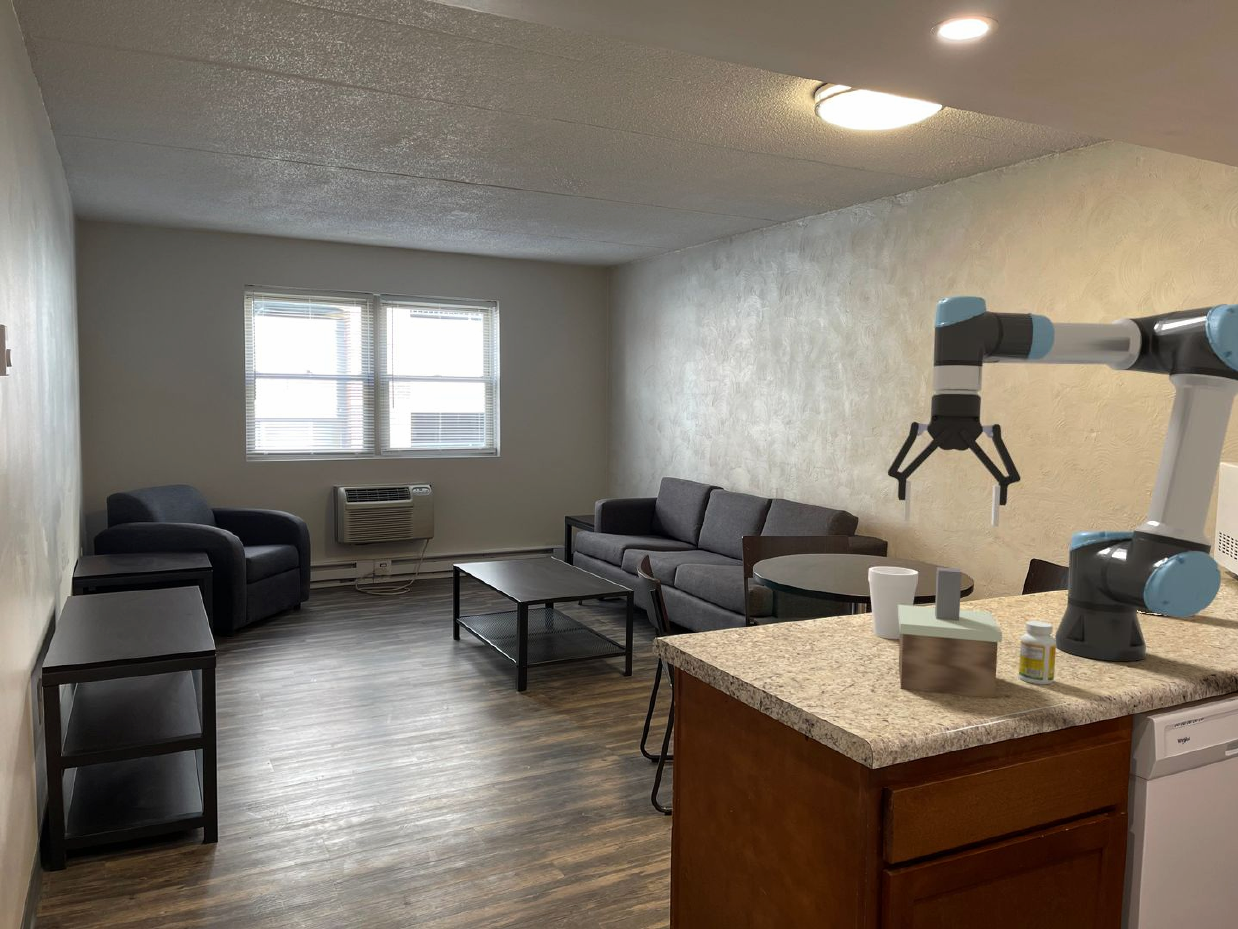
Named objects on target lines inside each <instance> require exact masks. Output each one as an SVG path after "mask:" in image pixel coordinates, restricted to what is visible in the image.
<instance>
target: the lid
mask: <svg viewBox="0 0 1238 929" xmlns="http://www.w3.org/2000/svg"><path fill="white" fill-rule="evenodd" d="M935 581H936V583H935V584H936V585H935V602H934V604H935V606H934V607H932V606H931V607H930V606H920V605H919V606H918V605H913V606H909V605H898V620H899V628H900V634H911V635H922V636H933V637H945V638H956V639H968V640H979V641H990V642H998V643H1003V642H1002V641H1003V631H1002V630H1001V628H1000V627H999V624H998V623H997V621H996V620H995V618H994V616H993V615H992V613H991V611H986V610H984V611H983V610H971V609H961V608H960V607H961V587H962V571H961V569H960V568H955V567H941V566H940V567H939V566H937V567H936V580H935Z"/></svg>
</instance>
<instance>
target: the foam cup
mask: <svg viewBox="0 0 1238 929" xmlns="http://www.w3.org/2000/svg"><path fill="white" fill-rule="evenodd" d="M867 580H868V581H867V582H869V584H868V585H869V592H870V602H871V603H870V604H871V614H872V615H871V617H872V623H873V624H872V625H873V626H872V627H873V631H874V632H873V634H874V635H875V636H877V637H879V638H882V639H889V640H900V628H899V620H898V605H909V606H914V601H915V595H916V590H917V586H918V585H919V572H918V571H917V570H914V569H911V568H907V567H898V566H872V567H870V568H868V577H867Z"/></svg>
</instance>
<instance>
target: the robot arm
mask: <svg viewBox="0 0 1238 929" xmlns="http://www.w3.org/2000/svg"><path fill="white" fill-rule="evenodd" d="M986 305H987V303H986V300H985V298H983V297H981V296H980V297H978V296H974V295H973V296H972V295H971V296H970V295H968V296H967V295H962V296H961V295H960V296H957V295H956V296H949V297H945V298H942V299H940V300H939V301H938V302H937V304H936V312H935V318H934V319H935V320H934V325H933V328H934V341H933V342H934V343H933V344H934V345H933V367H932V368H933V369H932V384H931V385H932V387H931V389H932V391H933V392H935V394H932V396H931V403H930V404H931V405H930V406H931V408H930V409H931V410H930V420H929V423H918V422H916V421H912V422H911V423H910V425H909V426H910V427H909V434H908V436H907V437H906V439H905V441H904V442H903V444H902V446H901V448H900V450H899V451H898V453H897V455H896V456H895V458H894V460H893V462H892V463H891V465H890V467H889V468H888V470H887V475H888V477H890V478H894V479H896V480H897V481H898V488H897V489H898V490H897V498H898V500H899V501H904V510H903V511H904V513H903V514H904V515H903V521H905V522H910V515H911V514H910V512H911V493H912V492H911V491H912V490H911V486H912V482H911V480H907V479H908V478H909V477H911V475H913V473H914V472H915V471H916V470H917V469H918V468H919V467H920V466H921V465H922V464H923V463H924V462H925V461H927V459H928V458H929V457H930V456H931V455H932V454H933V453H934V452H935V451H936V450H937V449H938V448H939V449H941V450H943V451H953V450H955V451H960V452H965V451H966V450H969V449H970V451H971V452H972V453H973V454H974V455H975V456H976V458H977V459H978V460H979V461H980V462H981V464H982V465H983V466H984V467H985V468H986V469H987V471H988V472H989V473H990V474H991V475H992V476H993V478H994V479H995V481H996V482H997V483H998V484H993V485H992V498H991V499H992V501H991V521H990V525H992V527H999V522H1000V521H999V518H1000V517H999V516H1000V506H1006V505H1007V502H1008V487H1009V485H1011V484H1015V483H1018V482H1021V476H1020V473H1019V471H1018V470H1017V467H1016V465H1015V463H1014V461H1013V459H1012V456H1011V454H1010V453H1009V451H1008V448H1007V445H1006V444H1005V442H1004V440H1003V438H1002V427H1001V425H1000V424H999V423H993V424H989V425H982V423H981V404H982V402H981V400H982V397H981V395H979V393H978V392H981V391H982V386H983V384H982V382H983V366H984V365H983V364H1033V365H1034V364H1035V365H1036V364H1042V365H1043V364H1044V365H1046V364H1047V365H1049V364H1050V365H1102V366H1103V365H1106V366H1107V367H1109V368H1110V369H1112V370H1114V371H1132V372H1138V373H1139V372H1140V373H1141V372H1142V373H1148V374H1156V375H1157V374H1158V375H1167V376H1168V380H1169V381H1170V383H1171V384H1172V385H1173V386H1174V387H1175V393H1174V394H1175V395H1174V399H1173V403H1172V407H1171V411H1170V415H1169V416H1170V417H1169V420H1168V425H1167V427H1166V428H1167V429H1166V433H1165V437H1164V442H1163V446H1162V451H1161V456H1160V459H1159V465H1158V469H1157V473H1156V477H1155V481H1154V485H1153V490H1152V495H1151V500H1150V503H1149V507H1148V508H1149V509H1148V512H1147V517H1146V521H1145V522H1143V523H1142V524H1140V525H1138V527H1135V528H1133V529H1134V530H1133V531H1132V530H1130V531H1129V530H1123V531H1121V530H1119V531H1118V530H1117V531H1116V530H1113V531H1111V530H1108V531H1107V530H1104V531H1103V530H1093V531H1092V530H1086V531H1085V530H1084V531H1083V530H1082V531H1081V530H1080V531H1077V532H1075V533H1073V535H1072V536H1071V541H1070V548H1069V550H1068V553H1069V556H1068V580H1067V581H1068V584H1067V604H1066V605H1067V606H1066V608H1065V612H1064V614H1063V616H1062V618H1061V620H1060V623H1059V624H1058V628H1057V630H1056V632H1055V638H1054V639H1055V641H1056V649H1059V650H1061V651H1063V652H1064V653H1065V652H1066V653H1068V654H1072V655H1075V656H1079V657H1083V658H1089V659H1095V660H1102V661H1103V660H1104V661H1113V662H1135V661H1136V660H1137V661H1140V660H1143V658H1144V659H1145V658H1146V652H1147V651H1146V650H1147V646H1146V641H1145V638H1144V634H1143V631H1142V627H1141V624H1140V621H1139V617H1138V612H1137V607H1139V608H1143V609H1146V610H1150V611H1153V612H1154V613H1157V614H1161V615H1169V616H1168V617H1175V618H1188V617H1192V616H1195V615H1197V614H1199V613H1200V612H1201V611H1203V610H1206V609H1207V608H1208V607H1209V606H1210V605H1211V604H1212V603H1213V602H1214V600H1215V598H1216V597H1217V595H1218V594H1219V590H1220V588H1221V582H1222V574H1221V573H1222V572H1221V570H1220V569H1218V568H1219V565H1218V562H1217V561H1216V560H1215V559H1214V558H1213V557H1212V556H1211V555H1210V553H1211V549H1212V543H1211V541H1210V540H1209V539H1208V538H1207V536H1206V535H1205V532H1204V531H1205V528H1206V524H1207V517H1208V514H1209V510H1210V505H1211V501H1212V498H1213V497H1212V496H1213V492H1214V487H1215V483H1216V480H1217V475H1218V471H1219V467H1220V466H1219V465H1220V461H1221V457H1222V453H1223V448H1224V446H1225V445H1224V444H1225V440H1226V435H1227V431H1228V426H1229V423H1230V419H1231V414H1232V410H1233V404H1234V400H1235V397H1236V396H1237V395H1238V303H1233V304H1227V303H1222V304H1218V305H1213V306H1207V307H1200V308H1193V309H1184V310H1177V311H1170V312H1165V313H1160V314H1156V315H1155V314H1154V315H1150V316H1149V315H1148V316H1143V317H1137V318H1136V317H1135V318H1134V317H1133V318H1125V317H1122V318H1118V319H1115V320H1114V321H1112V322H1111V323H1101V322H1100V323H1098V322H1097V323H1093V322H1092V323H1091V322H1090V323H1088V322H1052V320H1051V319H1050V318H1048V317H1047V316H1045V315H1042V314H1033V313H1031V312H1027V313H1019V312H1018V313H1017V312H998V311H997V312H996V311H995V312H994V311H989V310H987V306H986ZM924 431H925V432H926V431H927V433H928V434H929V436H930V437H931V439H932V440H931V441H930V442H929V443H928V444H927V446H926V447H924V449H923V450H921V452H920V453H919V454H918V455H916V457H915V458H914V459H913V460H912V461H911V462H910V463H909V464H908V465H907V466H906V467H905V468H904V469H903V470H902V471H899V469H900V467H901V466H902V463H903V462H904V460H905V458H906V457H907V455H908V453H909V452H910V450H911V448H912V446H913V444H914V443H915V441H916V439H917V437H919V436H922V435H923V433H924ZM983 433H985V434H986V436H987V437H988V438H989V439H991V441H992V443H993V445H994V447H995V450H996V452H997V453H998V455H999V458H1000V460H1001V461H1002V465H1003V466H1004V468H1005V470H1006V473H1007V475H1006V476H1005V475H1004V473H1002V471H1001V470H1000V469H999V467H998V466H997V465H996V464H995V463H994V462H993V460H991V458H990V456H988V455H987V453H986V452H985V451H984V450H983V449H982V447H981V446H980V445H979V443H978V442H977V441H976V440H978V438H979V437H980V436H981V435H982V434H983Z"/></svg>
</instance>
